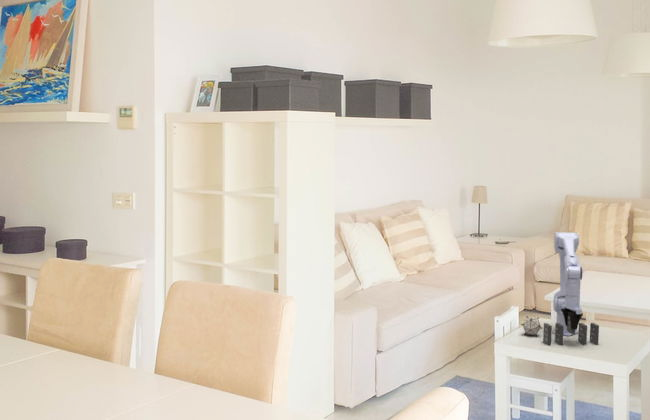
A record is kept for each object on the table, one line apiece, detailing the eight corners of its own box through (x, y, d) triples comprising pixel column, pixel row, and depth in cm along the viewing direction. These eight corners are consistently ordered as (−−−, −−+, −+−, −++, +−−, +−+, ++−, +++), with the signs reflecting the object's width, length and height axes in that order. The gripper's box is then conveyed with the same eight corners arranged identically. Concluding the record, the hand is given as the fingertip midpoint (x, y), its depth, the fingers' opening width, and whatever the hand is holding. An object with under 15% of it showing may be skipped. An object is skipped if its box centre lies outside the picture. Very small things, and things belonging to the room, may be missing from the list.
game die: (526, 343, 327) (516, 322, 332) (544, 336, 328) (534, 315, 332) (529, 337, 319) (518, 316, 324) (547, 330, 320) (537, 309, 324)
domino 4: (581, 341, 316) (582, 322, 316) (586, 344, 311) (587, 325, 311) (578, 341, 316) (578, 322, 316) (583, 344, 311) (583, 325, 311)
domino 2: (558, 341, 315) (558, 323, 315) (562, 345, 311) (563, 325, 310) (554, 341, 315) (555, 323, 315) (559, 345, 310) (560, 326, 310)
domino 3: (570, 330, 315) (571, 311, 315) (575, 333, 310) (576, 314, 310) (566, 330, 315) (567, 311, 315) (571, 333, 310) (572, 314, 310)
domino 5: (592, 341, 317) (593, 322, 316) (598, 344, 312) (599, 325, 311) (589, 341, 317) (590, 322, 316) (594, 344, 312) (595, 325, 311)
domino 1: (546, 342, 315) (547, 323, 314) (551, 345, 310) (551, 326, 309) (543, 342, 315) (543, 323, 314) (547, 345, 310) (548, 326, 309)
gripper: (556, 291, 318) (554, 323, 320) (570, 298, 304) (568, 332, 305) (572, 291, 319) (571, 323, 320) (587, 298, 305) (585, 331, 306)
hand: (571, 327), depth 313 cm, fingers closed on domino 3, 5 cm apart
